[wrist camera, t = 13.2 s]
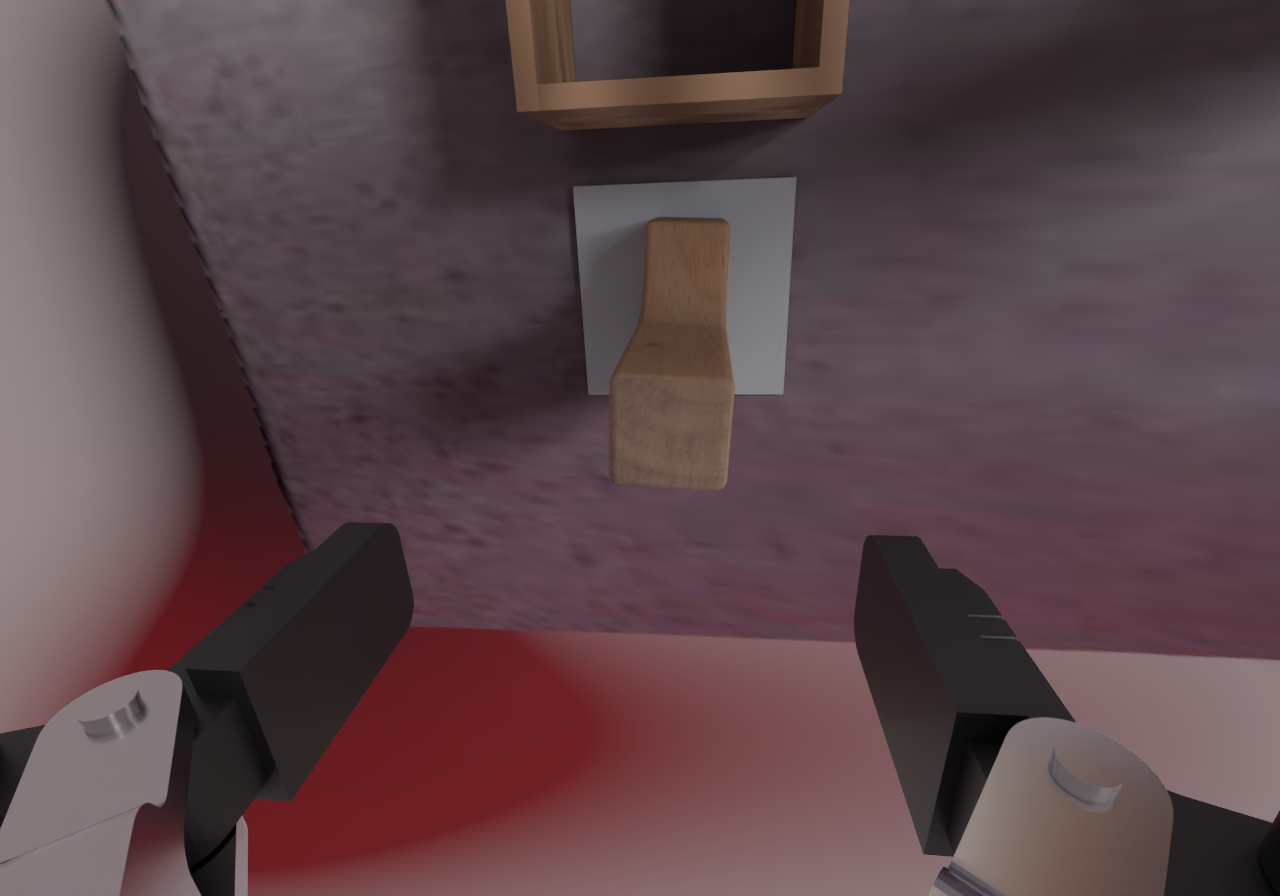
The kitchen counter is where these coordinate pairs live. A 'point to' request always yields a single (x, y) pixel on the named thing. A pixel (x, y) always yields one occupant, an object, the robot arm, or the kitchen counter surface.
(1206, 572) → the kitchen counter surface
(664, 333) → the wooden block
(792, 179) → the grey mat
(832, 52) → the walnut sleeve
